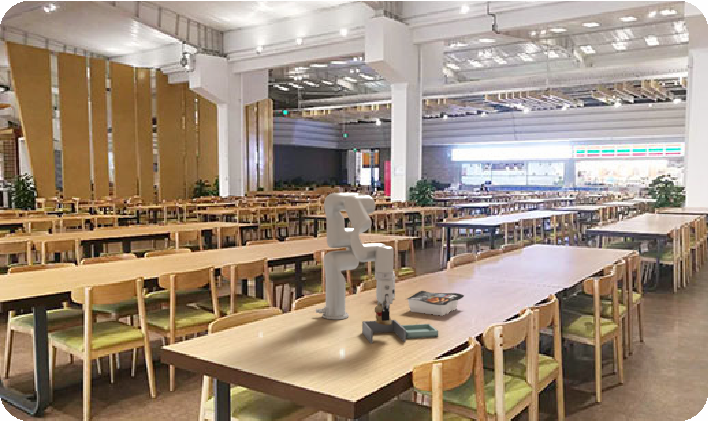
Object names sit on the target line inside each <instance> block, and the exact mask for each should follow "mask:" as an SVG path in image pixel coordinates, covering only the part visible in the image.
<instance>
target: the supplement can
mask: <svg viewBox="0 0 708 421" xmlns="http://www.w3.org/2000/svg"><path fill="white" fill-rule="evenodd" d="M391 281H392V295H393V300H394V299H395V297H396V295H395V294H396V293H395V292H396V275H395V271H394V270H393V280H391Z"/></svg>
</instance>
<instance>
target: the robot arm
mask: <svg viewBox="0 0 708 421" xmlns="http://www.w3.org/2000/svg"><path fill="white" fill-rule="evenodd" d="M323 202H324V203H323V208H324V213H325V218H326V244H327V247H329V248H331V249H344V248H345V250H332V251H328V252H327V253H325V255H324V256H323V259H322V260H323V268H324V274H325V275H324V276H325V305H324V306H323V307H322V308H316V309H315V313H316V314H321V315H322V318H323V319H327V320H344V319H347V318H349V313H348V312H346V278H345V276H344V275H343V273H342V271H351V270H356V269H357V268H358V266H359V264H360V262H361V263H366V262H367V263H368V262H374V267H375V268H374V280H376V290H375V293H376V296H375V298H376V301H377V305H379V303H381V304H382V310H383V311H382V321H387V320H389V316H390V314H391V313H390V308H391V306H390V305H392V304H393V301H394V299H393V295H392V281H391V280H393V271H394V256H395V255H394V253H395V252H394V248H393V247H392V246H391V245H386V244H384V243H383V242H382V243H380V242H378V243H377V242H376V243H375V242H374V243H371V242H370V243H363V242H362V240H361V238H360V235H361V234H363V233H364V232H366V231H368V230H369V229H370V228H371V226H372V220H371V218H370V216H369V215H371V214H373V213H374V212H375V210H376V202H375V199H374V198H373V197H372V196H371V195H369V194H364V193H360V192H334V193H333V192H332V193H330V194H328V195H327V196H326V197H325V199H324V201H323ZM344 211H345V212H346V214H347V217H348V219H349V221H350V223H351V227H345V218H344V215H343V213H342V212H344ZM383 302H385V303H383ZM377 305H376V306H377ZM384 305H386V306H385V307H384Z"/></svg>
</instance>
